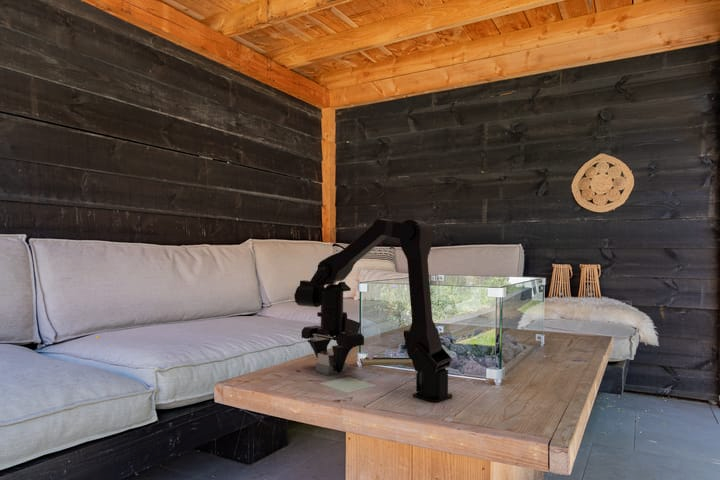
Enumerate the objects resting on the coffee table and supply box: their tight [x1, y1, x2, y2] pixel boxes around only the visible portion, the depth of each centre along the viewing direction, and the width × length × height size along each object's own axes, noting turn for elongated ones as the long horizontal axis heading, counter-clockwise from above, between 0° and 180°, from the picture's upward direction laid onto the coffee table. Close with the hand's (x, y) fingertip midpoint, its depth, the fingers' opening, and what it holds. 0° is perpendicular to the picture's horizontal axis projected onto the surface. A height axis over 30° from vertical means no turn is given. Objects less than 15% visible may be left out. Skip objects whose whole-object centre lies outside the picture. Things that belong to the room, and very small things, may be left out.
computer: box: [359, 356, 414, 369], centre depth 134 cm, size 16×8×3 cm, turn 95°
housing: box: [315, 350, 348, 377], centre depth 122 cm, size 5×6×6 cm
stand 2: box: [319, 376, 378, 394], centre depth 111 cm, size 10×9×2 cm
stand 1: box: [306, 369, 358, 381], centre depth 121 cm, size 10×9×2 cm
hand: (331, 369), depth 122 cm, fingers open, 6 cm apart
